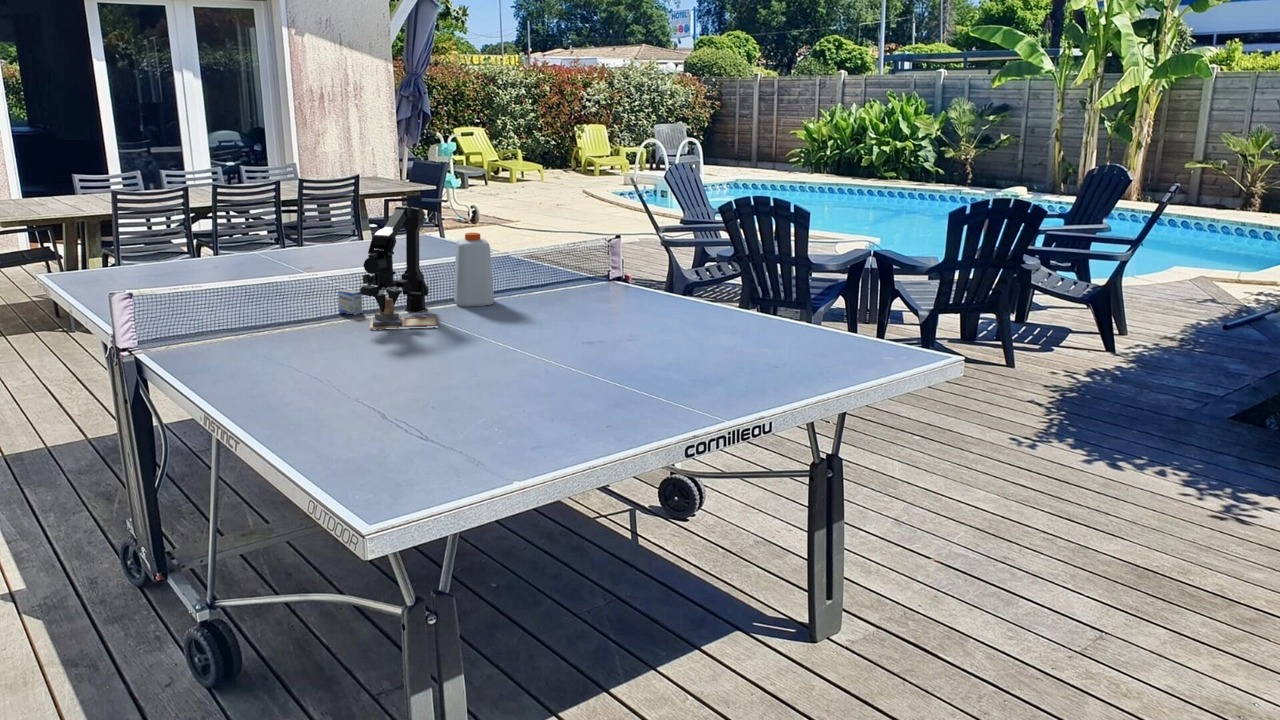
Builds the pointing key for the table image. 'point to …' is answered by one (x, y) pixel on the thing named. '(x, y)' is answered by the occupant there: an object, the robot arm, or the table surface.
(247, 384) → the table surface
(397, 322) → the board
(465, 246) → the plastic bottle
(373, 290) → the robot arm
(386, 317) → the stamp
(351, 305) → the medicine box
